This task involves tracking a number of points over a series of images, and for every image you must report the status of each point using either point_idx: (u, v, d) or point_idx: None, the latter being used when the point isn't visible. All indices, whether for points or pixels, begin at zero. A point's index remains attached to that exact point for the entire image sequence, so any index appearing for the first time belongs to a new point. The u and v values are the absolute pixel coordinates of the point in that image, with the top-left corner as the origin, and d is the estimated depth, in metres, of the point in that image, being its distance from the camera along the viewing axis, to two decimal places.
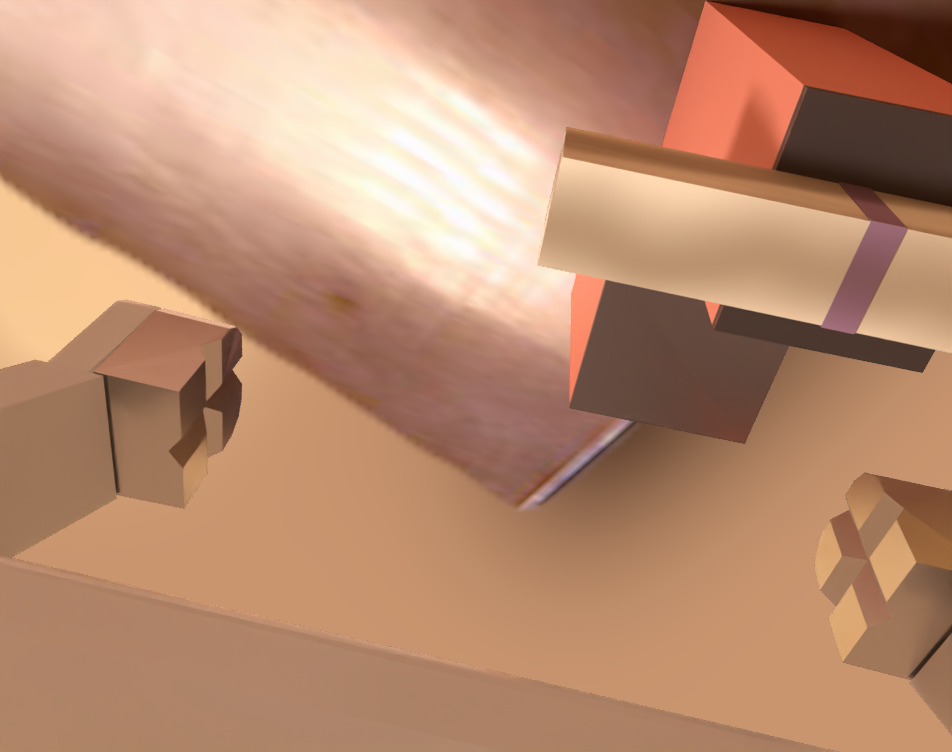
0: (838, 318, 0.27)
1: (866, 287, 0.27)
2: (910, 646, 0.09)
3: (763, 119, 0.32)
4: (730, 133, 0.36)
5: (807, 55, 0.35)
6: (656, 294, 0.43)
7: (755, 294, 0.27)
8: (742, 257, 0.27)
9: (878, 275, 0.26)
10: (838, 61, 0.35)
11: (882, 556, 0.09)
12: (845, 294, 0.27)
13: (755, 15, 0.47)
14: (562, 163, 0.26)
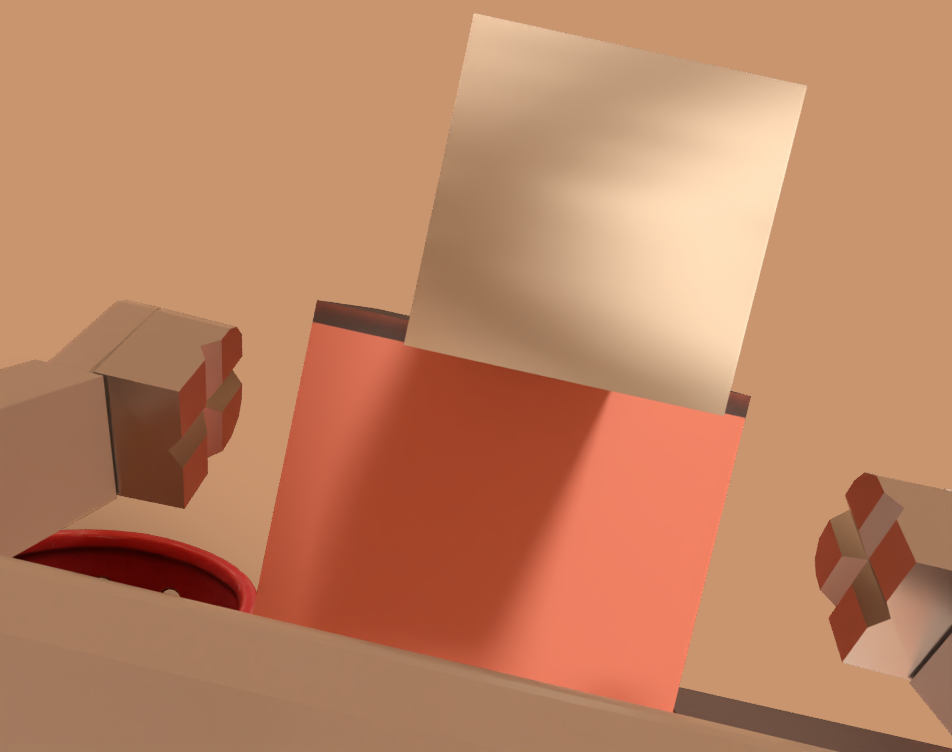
0: None
1: None
2: (910, 646, 0.09)
3: (371, 484, 0.18)
4: None
5: None
6: None
7: None
8: None
9: None
10: None
11: (882, 556, 0.09)
12: None
13: None
14: (491, 19, 0.09)
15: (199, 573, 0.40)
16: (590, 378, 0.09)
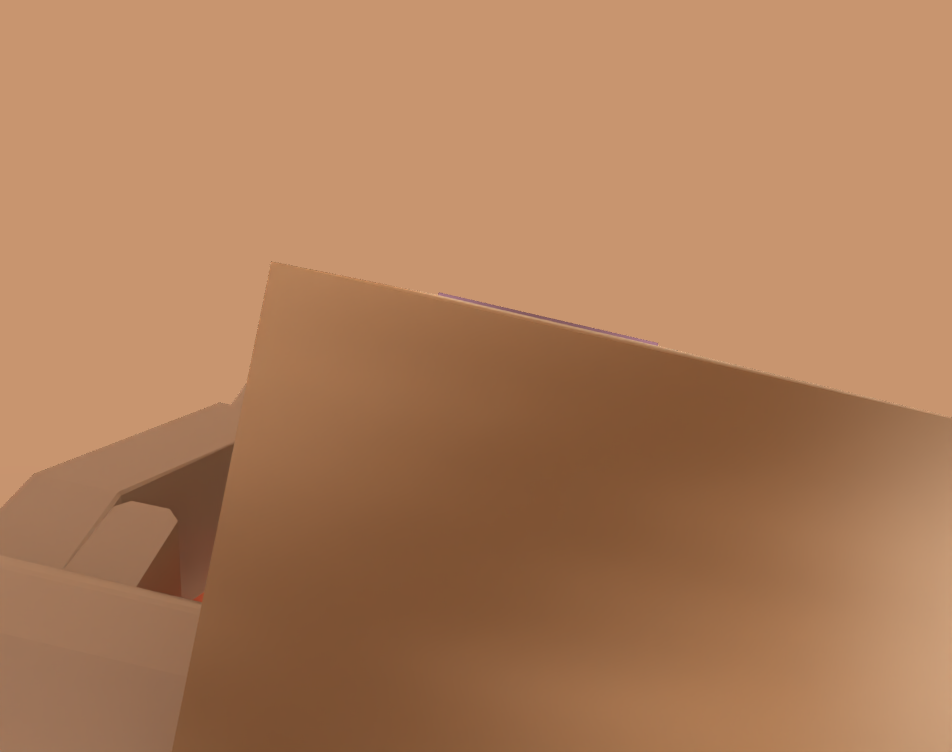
0: None
1: None
2: None
3: None
4: None
5: None
6: None
7: None
8: (571, 326, 0.11)
9: None
10: None
11: None
12: None
13: None
14: (316, 273, 0.04)
15: None
16: None
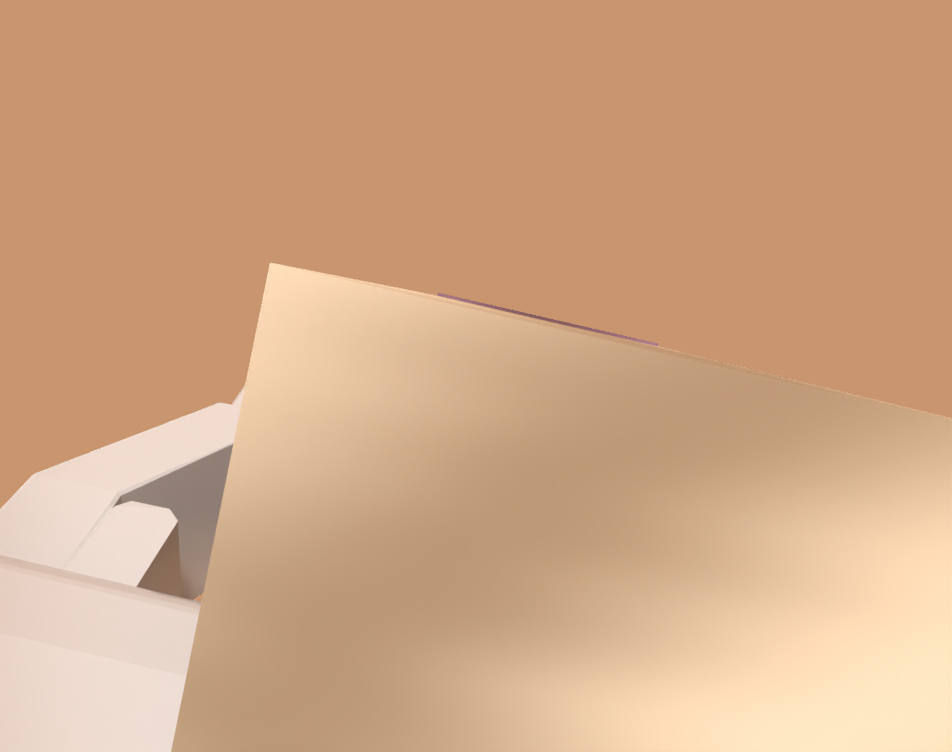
0: None
1: None
2: None
3: None
4: None
5: None
6: None
7: None
8: (571, 326, 0.11)
9: None
10: None
11: None
12: None
13: None
14: (315, 274, 0.04)
15: None
16: None
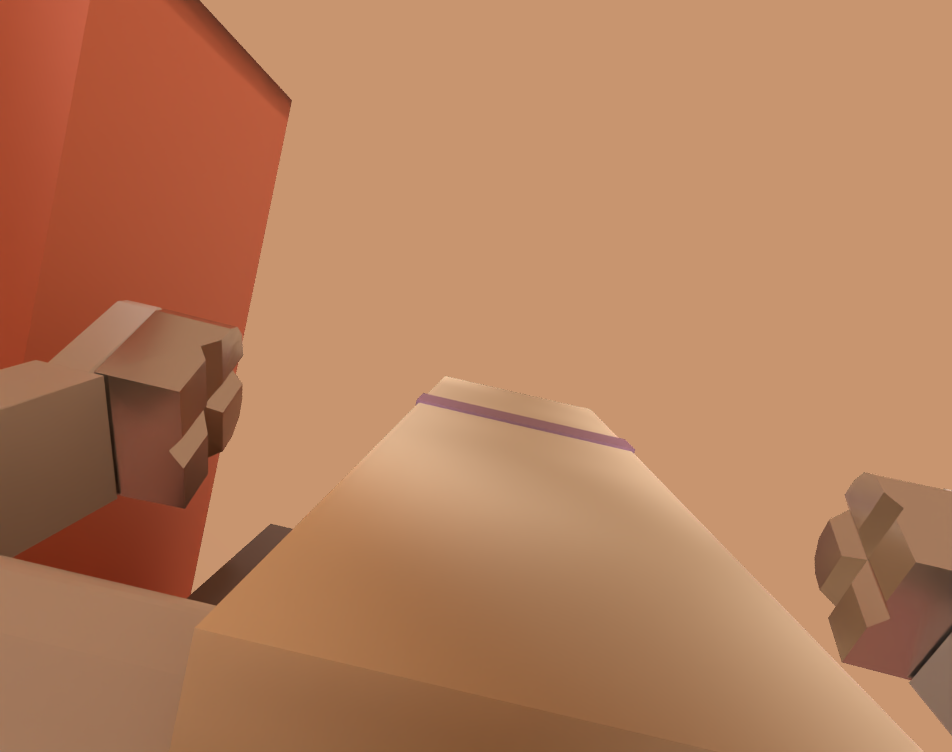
0: (606, 440, 0.15)
1: (536, 420, 0.15)
2: (909, 646, 0.09)
3: None
4: None
5: None
6: None
7: (620, 472, 0.12)
8: (540, 465, 0.11)
9: (510, 414, 0.15)
10: None
11: (881, 556, 0.09)
12: (560, 432, 0.14)
13: None
14: (238, 635, 0.04)
15: None
16: None
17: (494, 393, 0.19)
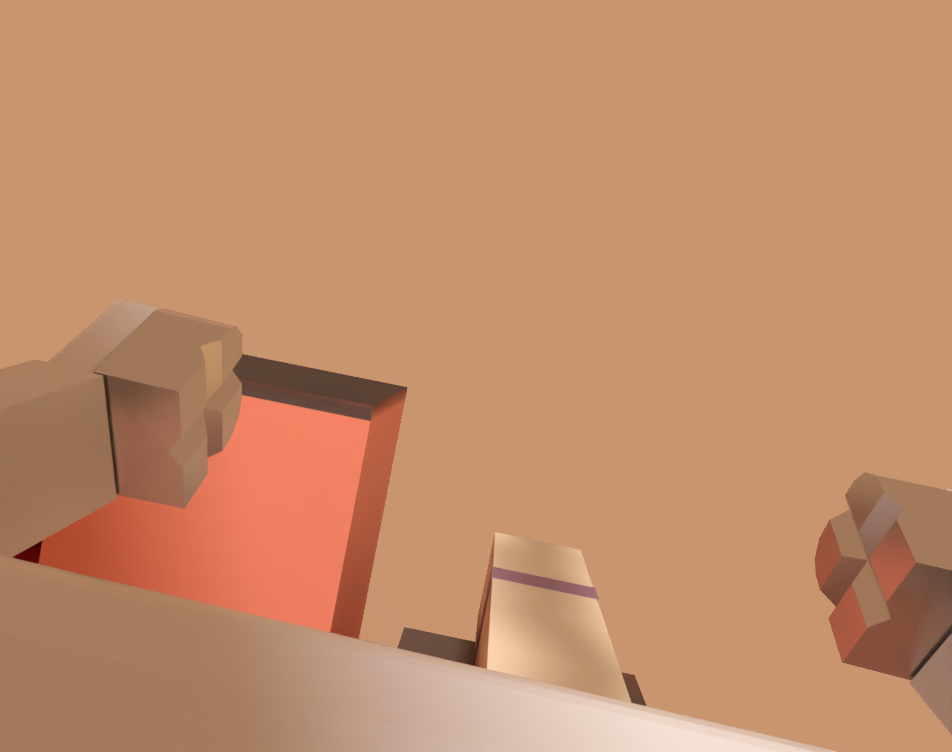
0: (585, 592, 0.29)
1: (549, 580, 0.30)
2: (910, 646, 0.09)
3: None
4: None
5: None
6: None
7: (587, 622, 0.26)
8: (553, 624, 0.26)
9: (536, 577, 0.30)
10: None
11: (882, 556, 0.09)
12: (561, 589, 0.29)
13: None
14: None
15: None
16: None
17: (525, 548, 0.34)
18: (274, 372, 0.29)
